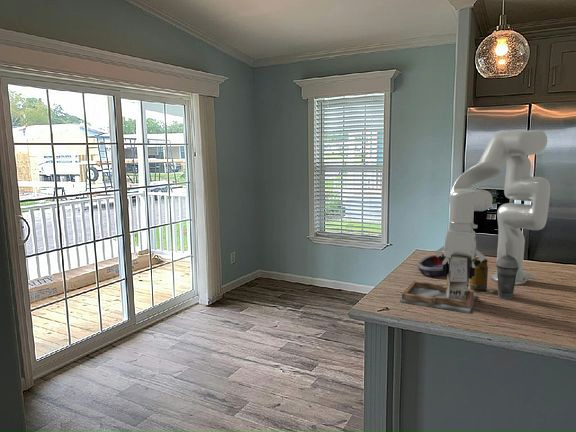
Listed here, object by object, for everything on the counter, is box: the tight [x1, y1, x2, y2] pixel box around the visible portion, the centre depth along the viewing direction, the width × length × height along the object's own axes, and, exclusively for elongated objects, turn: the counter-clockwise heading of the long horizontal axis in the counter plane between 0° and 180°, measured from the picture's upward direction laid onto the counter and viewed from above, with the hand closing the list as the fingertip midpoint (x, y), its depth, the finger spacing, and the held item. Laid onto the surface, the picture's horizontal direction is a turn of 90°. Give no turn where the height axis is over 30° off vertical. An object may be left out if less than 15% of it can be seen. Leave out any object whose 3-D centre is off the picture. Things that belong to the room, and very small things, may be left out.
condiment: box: [468, 256, 495, 295], centre depth 164 cm, size 7×8×12 cm
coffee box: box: [445, 255, 472, 301], centre depth 151 cm, size 9×6×16 cm
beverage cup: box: [495, 243, 519, 300], centre depth 155 cm, size 7×7×20 cm
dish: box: [417, 253, 449, 277], centre depth 193 cm, size 16×31×5 cm, turn 141°
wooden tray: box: [399, 280, 477, 314], centre depth 155 cm, size 23×19×3 cm
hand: (458, 276), depth 151 cm, fingers closed on coffee box, 7 cm apart
